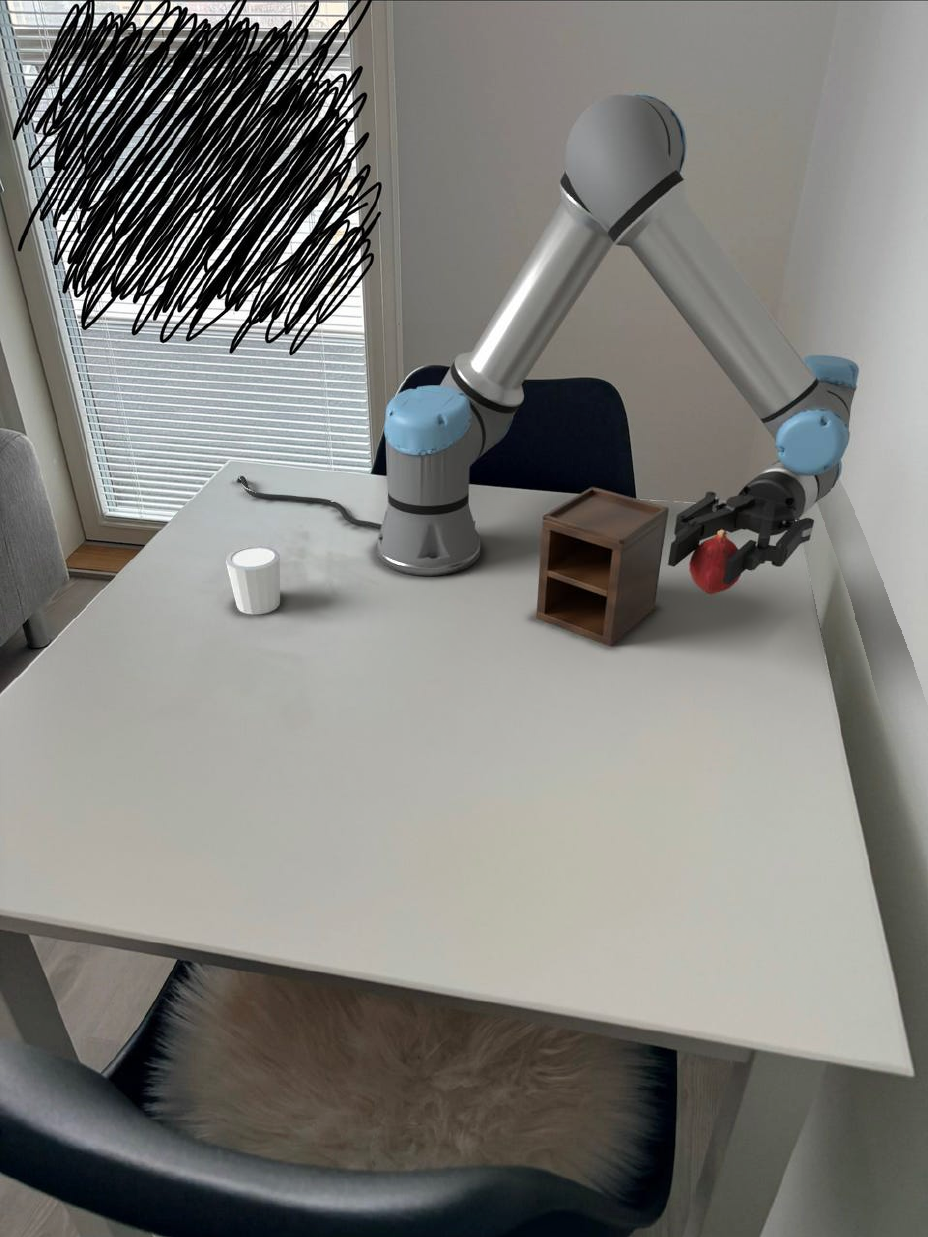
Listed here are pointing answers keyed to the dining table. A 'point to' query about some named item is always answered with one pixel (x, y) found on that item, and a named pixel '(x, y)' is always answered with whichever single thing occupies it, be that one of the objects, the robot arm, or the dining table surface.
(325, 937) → the dining table surface
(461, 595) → the dining table surface
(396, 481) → the robot arm
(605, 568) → the box
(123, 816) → the dining table surface
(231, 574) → the shot glass
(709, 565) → the onion
